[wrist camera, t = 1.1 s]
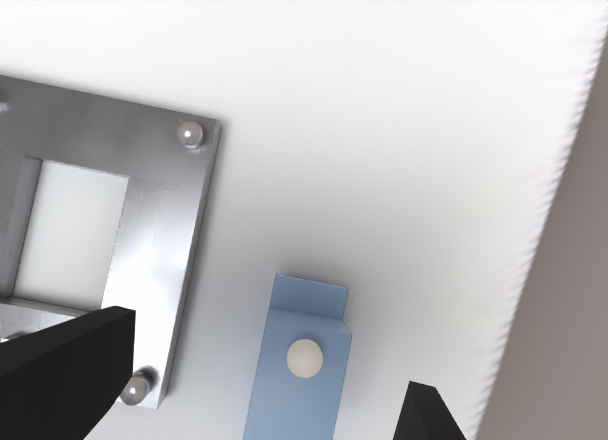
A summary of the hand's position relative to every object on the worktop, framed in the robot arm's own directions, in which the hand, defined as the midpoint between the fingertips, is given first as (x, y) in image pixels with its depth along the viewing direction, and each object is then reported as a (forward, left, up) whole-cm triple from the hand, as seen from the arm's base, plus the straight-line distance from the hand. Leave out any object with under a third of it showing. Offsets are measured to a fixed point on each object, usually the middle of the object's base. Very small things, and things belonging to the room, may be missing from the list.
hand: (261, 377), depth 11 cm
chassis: (+1, +10, -11) cm, 15 cm away
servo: (-3, -2, -11) cm, 12 cm away
